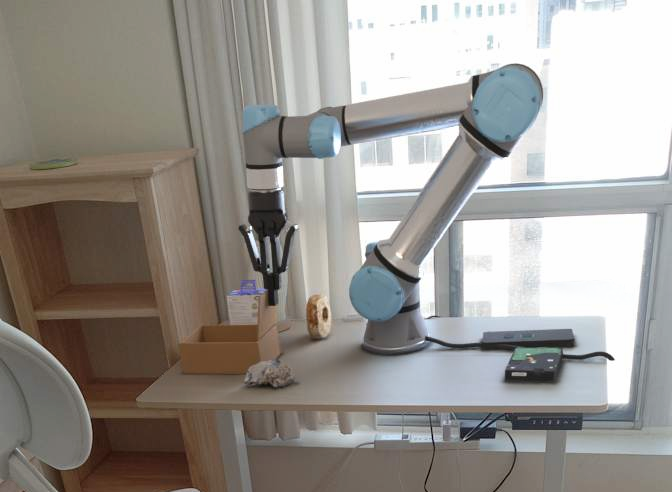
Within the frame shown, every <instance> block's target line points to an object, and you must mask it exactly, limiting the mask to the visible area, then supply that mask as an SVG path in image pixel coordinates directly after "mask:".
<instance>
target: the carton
mask: <svg viewBox="0 0 672 492" xmlns="http://www.w3.org/2000/svg"><path fill="white" fill-rule="evenodd" d="M279 337H280V336H279V328H278V324H277V323H275V324H274V325H273V326H272V327H271V328H270V329H269V330H268V331H267V332H266V333H265V334H264V335H263V336H262V337H261V338H260V339H259V340H257V324H241V325H230V324H200V325H199V326H198V327H197V328H195V329H194V330H193V331H192V332H190V333H189V334H188V335H187V336H185V337H184V338H183V339H182V340H180V341H179V342H177V343H178V349H179V356H180V361H181V368H182V373H183V375H184V374H186V375H187V374H188V375H189V374H192V375H193V374H197V375H198V374H201V375H202V374H205V375H206V374H207V375H208V374H209V375H210V374H211V375H214V374H217V375H218V374H219V375H222V374H224V375H230V374H231V375H233V374H235V375H240V374H241V375H246V374H247V372H248V369H249V368H250V367H251V366H253V365H256V364H258V363H259V362H264V361H269V360H274V359H278V357H279V356H280V355H281V354H282V353H281V344H280V338H279Z"/></svg>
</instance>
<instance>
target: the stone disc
mask: <svg viewBox="0 0 672 492" xmlns="http://www.w3.org/2000/svg"><path fill="white" fill-rule="evenodd" d="M305 311H306V313H305V314H306V316H305V317H306V328H307V332H308V334H309V337H310V338H311V339H313V340H321V339H325V338H326V337H328V335H329V333H330V331H331V329H332V312H331V307H330V303H329V300H328V297H327V296H326V295H323V294H313V295H310V296H309V298H308V299H307V302H306V309H305Z"/></svg>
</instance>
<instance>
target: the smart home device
mask: <svg viewBox="0 0 672 492" xmlns="http://www.w3.org/2000/svg"><path fill="white" fill-rule="evenodd" d="M482 343H483V347H482V350H503V349H502V348H496V347H495V345H497V344H505V345H513V346H519V347H525V348H538V347H545V348H546V347H547V348H548V347H549V348H564V347H574V346H575V337H574V332H573V329H572V328H551V329H526V330H525V329H524V330H502V331H484V332H483V333H482Z"/></svg>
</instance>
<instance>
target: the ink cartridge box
mask: <svg viewBox="0 0 672 492" xmlns="http://www.w3.org/2000/svg"><path fill="white" fill-rule="evenodd" d="M256 283H257V280H256V279H242V280H241V282H240V289H236V290H235V289H234V290H231V291H230V292H228V293H227V295H226V296H225V298H226V304H227V312H228V319H229V325H241V324H258V300H259V296H260V295H261V294H263V293H264V292H265V291H266V290H267V289H264V288H257V284H256ZM246 284H252V285H251V286H249V285H246ZM244 285H246V286H244Z"/></svg>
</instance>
